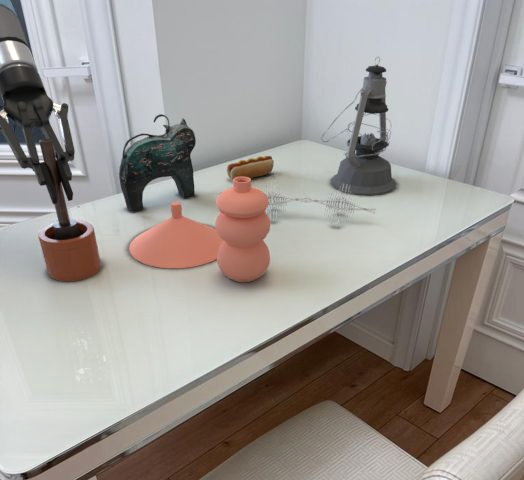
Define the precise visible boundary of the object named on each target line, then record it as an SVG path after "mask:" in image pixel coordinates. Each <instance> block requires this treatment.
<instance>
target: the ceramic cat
mask: <svg viewBox="0 0 524 480" xmlns="http://www.w3.org/2000/svg"><path fill="white" fill-rule="evenodd" d="M161 117H164V118H165V119H166V120H167V124H163V125H162V126H163V128H164V129H165V132H164V133H163V134H159V135H157V134H149V133H138V134H136V135H134V136H132V137H130V138H129V139H128V140H126V142H125V143H124V147H123V148H122V155H121V156H122V157H121V160H120V164H119V167H118V168H119V170H118V171H119V172H118V179H119V184H120V189H121V192H122V196H123V198H124V202H125V206H126V209H127V210H128V211H130V212H131V213H135V212H138V211H142V210H143V209H144V202H143V200H144V199H143V197H144V191H145V189H146V187H147V185H149V183H151V182H152V181H155V180H156V179H160V178H167V177H171V178H172V179H173V182H174V184H175V186H176V189H177V193H178V195H179V196H180V197H181V198H183V199H187V198H189V197H194V196H195V195H196V194H195V180H194V178H195V177H194V167H193V162H192V158H191V154H192V152H193V150H194V149H195V147H196V143H197V142H196V140H197V139H196V134H195V132H194V130H193V129H192V128H191V127H189V125H188V123H187V121H186V119H185V118H183V117H182V118H181V120H180V123H177V124H174V125H170V119H169V118H168V116H166V115H165V114H162V113H159V114H157V115H155V116H154V118H153V123H156V121H157V120H158V119H159V118H161ZM141 136H142V137H143V136H146V137H144V138H142V139H139V140H136V141H134V142H132V143H131V144H130V146H128V145H129V143H130V142H131V141H133V140H134V139H137V138H139V137H141ZM127 146H128V147H127Z"/></svg>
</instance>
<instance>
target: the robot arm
mask: <svg viewBox="0 0 524 480" xmlns="http://www.w3.org/2000/svg"><path fill="white" fill-rule="evenodd" d="M0 97H1V101H2V110H0V132H1V134H2V135H3V137H4V140H5V141H6V142H7V145H8V146H9V148H10V150H11V152H12V153H13V155H14V157H15V159H16V161H17V163H18V165H19V166H20V168H21V169H25V170H26V169H27V168H28V169H31V170H32V172H34V175H35V177H36V180H37V183H38V184H39V185H40V187H42V186H45V187H46V190H47V192H48V195H49V198H50V200H51V203H52V205H54V204H56V203H57V197H58V196H57V193H56V191H55V188H54V185H53V183H52V180H51V177H50V175H49V172H48V169H47V167H46V164H45V162H44V161H41V162H40V157H39V153H38V149H37V146H36V142H35V137H34V133H33V129H34V128H39V129H40V131H41V132H42V134H43V136H44V137H45V139H51V140H52V145H53V149H54V154H55V158H56V162H57V167H58V171H59V176H60V180H61V184H62V189H63V192H64V195H65V196H66V199H67V201H68V202H70V201H73V200H74V191H73V189H72V186H71V183H70V181H72V179H73V172H72V170H71V168H70V164H69V162H70V161H71V162H73V161H74V160H75V154H76V153H75V152H76V150H75V145H74V141H73V136H72V132H71V127H70V123H69V119H68V117H69V104H68V103H66V102H65V103H64V102H62V104H58V103H54V101H53V100H52V98H51V97H49V95H48V93H47V90H46V88H45V86H44V83H43V81H42V78H41V75H40V73H39V70H38V67H37V64H36V62H35V59H34V56H33V54H32V52H31V49H30V46H29V44H28V41H27V38H26V36H25V32H24V29H23V27H22V25H21V21H20V19H19V16H18V14H17V12H16V10H15V8H14V6H13V3H12V1H11V0H0ZM53 112H54V114H55V117H56V118H57V119H58V120H59V127H60V131H61V136H62V140H63V146H64V149H63V146H62V145H61V143H60V141H59V138H58V137H57V135H56V132H55V131H54V128H53V127H52V125H51V122H50V119H51V116H52V113H53ZM9 119H10V121H11V120H12V121H13V122H14V123H15V124H17V125H18V126H19V127H20V128H21V130H22V134H23V136H24V141H25V144H26V145H25V146H26V148H27V154H28V156H27V155H26V152H25V151H24V149H23V148H22V146H21V144H20V141H19V140H18V138H17V136H16V134H15V133H14V131H13V129H12V127H11V125H10V124H9ZM64 150H65V151H64Z"/></svg>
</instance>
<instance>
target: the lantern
mask: <svg viewBox="0 0 524 480" xmlns="http://www.w3.org/2000/svg"><path fill="white" fill-rule="evenodd" d="M378 58H379V60H378V63H377V64H374V65H369V66H368V67H367V68H366V69H365V72H368V75H367V76H364V77H363V82H362V87H361V88H360V90H359V91H358V92H357V93H356V95H355V98H354V100H353V101H352V102H351V103H350V104H349V105H347V106H346V107H345V108H344V109H343V110H342V111H341V112H340V113H339V114H338V115H337V116H336V117H335V119H334V120H333V122H331V124H330V125H329V127H328V128H327V129H326V130H325V132H324V133H323V134H322V135H321V137H320V140H321V141H322V142H323V143H328V142H330V141H331V140H333V139H335V138H336V137H338V136H339V135H341V134H343V133H344V132H346V133H347V135H348V138H349V139H348V140H347V141H346V146H347V147H348V148H347V151H346V152H344V153H343V155H344V157H345V158H344V159H342V160H341V161H340V162H339V166H338V170H337V173H336V174H334V175H333V177H331V179H330V184H331V186H332V187H333V188H335V190H337V189H338V190H337V191H339V189H340V191H339V192H341V193H345V190H346V193H345V194H350V192H351V194H350V195H352V194H353V195H355V196H379V195H380V196H381V195H386V194H388V193H391V192H393V191H394V190H395V189H396V187H397V185H398V183H397V181H396V180H395V178H393V177H392V175H393V174H392V165H391V163H390V161H389V160H387V159H385V158H383V157H381V156H380V154H381V153H384V152H385V151H386V150H387V148H388V147H389V146H390V138H391V134H392V132H391V129H392V122H391V120H390V119H389V118H387V114H386V113H387V112H389V108H388V105H387V103H386V97H387V95H386V88H387V87H386V86H387V84H388V81H387V78H386V77H384V76H383V73H386V72H387V68H386V67H384V66H381V65H380V62H381V57H380V56H377V57H375V58H374V61H376V60H377V59H378ZM359 94H360V97H359V102H358V103H357V104H356V106H355V107H354V110H356V115H355V119H354V121H351V122H349V123H348V125H347V128H345V129H344V130H342V131H340V132H339V133H337V134H336V135H335V136H333V137H330V138H329V139H327V140H326V141H324V139H323V137H324V136H325V134H326V133H327V132H328V131H329V130H330V128H331V127H332V125H334V123H335V122H336V121H337V119H338V118H340V116H341V115H342V114H343V113H344V112H345V111H346V110H347V109H348V108H350V107H351V105H353V104H354V103H355V101H356V100H357V98H358V95H359ZM369 115H375V116H378V117H379V118H378V119H379V127H377V126H374V125H370V124H367V123H362V122H363V119H364V117H366V116H369ZM387 120H388V122H389V124H390V127H389V129H387ZM362 125H364V126H369V127H372V128H375V129H379V130H377V131H376V132H377V133H379V138H377V137H376V136H375V134H374V133H372V132H371V133H366V132H365V133H364V134H361V133H360V131H361V126H362ZM352 126H353V128H352V130H350V128H351V127H352ZM349 132H350V133H351V136H350V133H349ZM343 184H344V187H343ZM340 186H341V187H340ZM346 186H347V188H346ZM349 186H350V188H349ZM342 188H343V191H342ZM348 190H349V192H348Z"/></svg>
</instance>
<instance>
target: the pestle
mask: <svg viewBox="0 0 524 480" xmlns="http://www.w3.org/2000/svg"><path fill="white" fill-rule="evenodd" d="M38 143H39V147H40V151H41V155H42V159H43V162H45V164H46V167H47V169H48V172H49V175H50V177H51V180H52V183H53V185H54V188H55V191H56V193H57V196H58V197H57V203H56V204H53V205H54V209H55V213H56V217H57V220H55V221H54V222H52V223H51V224H52V226H53V230H54V234H55V238H56V240H68V239H73V238H76V237H79V236H80V234H79V229H78V225H77V221H76V220H77V219H74V218H70V215H69V211H68V206H67V203H66V198H65V192H64V188H63V186H62V183H61V180H60V176H59V171H58V167H57V162H56V160H57V159H56V157H55V154H54V149H53V145H52V140H51V139H46V138H42V139H39V141H38Z"/></svg>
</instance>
